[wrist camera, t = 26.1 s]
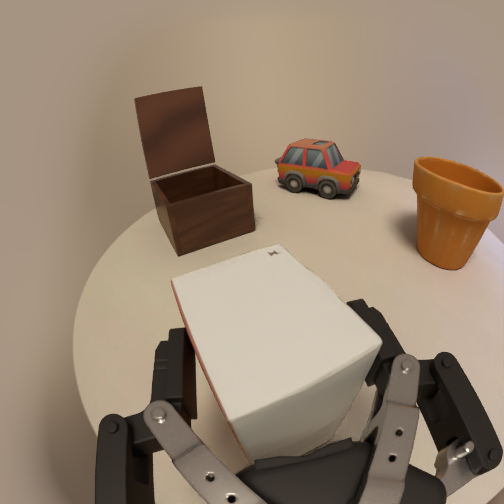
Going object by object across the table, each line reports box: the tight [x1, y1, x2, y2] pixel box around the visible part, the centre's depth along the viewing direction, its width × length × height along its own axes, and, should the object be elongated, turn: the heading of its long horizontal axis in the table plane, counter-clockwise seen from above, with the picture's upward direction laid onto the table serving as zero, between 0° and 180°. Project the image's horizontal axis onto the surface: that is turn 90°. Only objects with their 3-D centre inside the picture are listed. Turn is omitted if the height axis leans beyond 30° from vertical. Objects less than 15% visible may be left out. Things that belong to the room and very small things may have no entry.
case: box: [150, 165, 255, 256], centre depth 44 cm, size 15×13×8 cm
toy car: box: [275, 139, 361, 199], centre depth 54 cm, size 12×17×10 cm
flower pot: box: [412, 157, 504, 270], centre depth 30 cm, size 14×14×13 cm
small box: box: [171, 244, 382, 465], centre depth 14 cm, size 8×6×13 cm
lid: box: [134, 87, 215, 179], centre depth 44 cm, size 15×13×1 cm
